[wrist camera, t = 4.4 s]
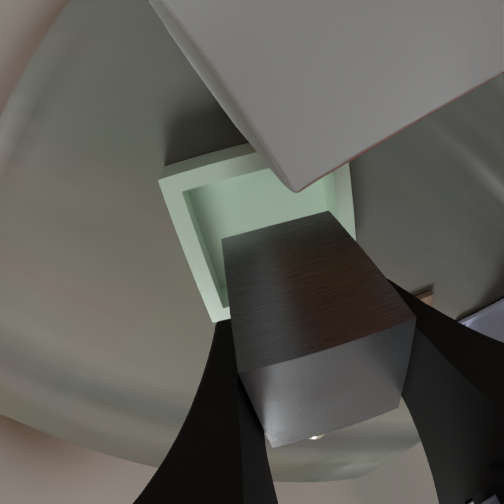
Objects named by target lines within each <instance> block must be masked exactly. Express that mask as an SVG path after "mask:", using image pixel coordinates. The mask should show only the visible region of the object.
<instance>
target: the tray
mask: <svg viewBox="0 0 504 504" xmlns="http://www.w3.org/2000/svg"><path fill="white" fill-rule="evenodd" d="M158 182H159V185H160V187H161V190H162V193H163V196H164V199H165V202H166V204H167V207H168V210H169V213H170V215H171V218H172V221H173V224H174V226H175V229H176V232H177V234H178V237H179V240H180V242H181V245H182V248H183V250H184V253H185V255H186V258H187V261H188V263H189V266H190V268H191V271H192V273H193V276H194V278H195V281H196V283H197V286H198V288H199V291H200V293H201V296H202V298H203V301H204V303H205V305H206V308H207V310H208V313H209V315H210V317H211V320H212V322H213V323H214V322H218V321H222V320H226V319H230V318H231V316H230V308H229V300H228V292H227V284H226V276H225V268H224V259H223V251H222V242H221V239H223V238H226V237H230V236H234V235H237V234H241V233H245V232H249V231H252V230H256V229H260V228H264V227H267V226H271V225H275V224H279V223H282V222H286V221H290V220H294V219H298V218H302V217H305V216H309V215H313V214H317V213H321V212H325V211H330V212H331V213H332V214H333V216H334V217H335V218H336V219H337V220H338V221H339V222H340V224H341V225H342V226H343V227H344V228H345V229H346V230H347V232H348V233H349V234H350V235H351V236H352V237H353V239H354V240H355V241H356V235H355V221H354V209H353V198H352V188H351V179H350V170H349V162H348V163H346V164H345V165H343V166H341V167H340V168H338V169H336V170H334V171H333V172H331V173H329V174H328V175H326V176H324V177H323V178H321V179H319V180H318V181H316V182H314V183H313V184H311V185H310V186H308V187H307V188H305V189H304V190H302V191H301V192H299V193H294V192H292V191H290V190H289V189H288V188H287V187H286V186H284V185H283V183H282V182H281V181H280V180H279V179H278V178H277V176H276V175H275V174H274V173H273V171H272V170H271V169H270V168H269V167H268V165H267V164H266V163H265V162H264V160H263V159H262V158H261V156H260V155H259V154H258V152H257V151H256V150H255V149H254V148H253V146H252V145H251V144H250V143H245V144H241V145H237V146H233V147H230V148H226V149H222V150H218V151H215V152H211V153H208V154H204V155H201V156H197V157H194V158H190V159H187V160H184V161H180V162H177V163H174V164H171V165H167V166H164V168H163V170H162V172H161V174H160V177H159V179H158Z"/></svg>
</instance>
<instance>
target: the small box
mask: <svg viewBox="0 0 504 504" xmlns="http://www.w3.org/2000/svg"><path fill="white" fill-rule="evenodd" d="M148 1H149V3H150V4H151V5H152V7H153V8H154V10H155V11H156V13H157V14H158V16H159V17H160V19H161V20H162V22H163V23H164V25H165V27H166V28H167V30H168V32H169V33H170V35H171V36H172V37H173V39H174V40H175V42H176V43H177V45H178V46H179V48H180V49H181V51H182V52H183V54H184V55H185V56H186V58H187V59H188V61H189V62H190V64H191V65H192V67H193V68H194V69H195V71H196V72H197V73H198V75H199V76H200V78H201V79H202V80H203V82H204V83H205V85H206V86H207V87H208V89H209V90H210V92H211V93H212V94H213V96H214V97H215V99H216V100H217V101H218V103H219V104H220V105H221V107H222V108H223V110H224V111H225V112H226V114H227V115H228V117H229V118H230V119H231V121H232V122H233V124H234V125H235V126H236V127H237V128H238V130H239V131H240V132H241V133H242V134H243V135H244V137H245V138H246V139H247V140H248V142H249V143H250V144H251V145H252V146H253V148H254V149H255V150H256V151H257V152H258V154H259V155H260V156H261V158H262V159H263V160H264V162H265V163H266V164H267V165H268V167H269V168H270V169H271V170H272V171H273V173H274V174H275V175H276V176H277V178H278V179H279V180H280V181H281V182H282V183H283V185H284V186H286V187H287V188H288V189H289V190H290V191H292V192H294V193H299V192H301V191H302V190H304V189H305V188H307V187H308V186H310V185H311V184H313V183H314V182H316V181H318V180H319V179H321V178H323V177H324V176H326V175H328V174H329V173H331V172H333V171H334V170H336V169H338V168H340V167H341V166H343V165H345V164H346V163H348V162H350V161H352V160H353V159H355V158H357V157H358V156H360V155H362V154H363V153H365V152H367V151H368V150H370V149H372V148H373V147H375V146H377V145H378V144H380V143H382V142H383V141H385V140H387V139H388V138H390V137H392V136H393V135H395V134H397V133H399V132H400V131H402V130H404V129H405V128H407V127H409V126H411V125H412V124H414V123H416V122H418V121H419V120H421V119H423V118H424V117H426V116H428V115H430V114H431V113H433V112H434V111H436V110H438V109H439V108H441V107H443V106H445V105H447V104H449V103H450V102H452V101H454V100H456V99H458V98H460V97H461V96H463V95H465V94H466V93H468V92H470V91H472V90H474V89H476V88H478V87H479V86H481V85H483V84H485V83H487V82H488V81H490V80H492V79H494V78H496V77H497V76H499V75H501V74H503V73H504V0H148Z"/></svg>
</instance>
